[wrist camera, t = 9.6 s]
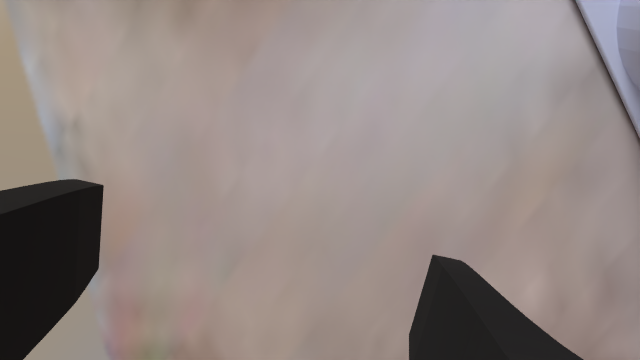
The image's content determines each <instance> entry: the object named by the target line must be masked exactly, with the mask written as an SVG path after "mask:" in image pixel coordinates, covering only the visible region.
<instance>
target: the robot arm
mask: <svg viewBox="0 0 640 360" xmlns="http://www.w3.org/2000/svg"><path fill="white" fill-rule="evenodd" d="M575 1H576V3H577V5H578V7H579V9H580V11H581V14H582V16H583V18H584V20H585V22H586V24H587V26H588V29H589V31H590V33H591V35H592V37H593V39H594V41H595V44H596V46H597V48H598V50H599V52H600V54H601V56H602V58H603V61H604V63H605V65H606V67H607V69H608V71H609V73H610V76H611V78H612V80H613V82H614V84H615V86H616V88H617V91H618V93H619V95H620V97H621V99H622V101H623V103H624V106H625V108H626V110H627V112H628V114H629V116H630V118H631V121H632V123H633V125H634V127H635V129H636V131H637V133H638V136H639V138H640V0H575ZM102 202H103V185H101V184H96V183H91V182H86V181H82V180H77V179H70V180H58V181H51V182H45V183H40V184H34V185H28V186H23V187H18V188H13V189H8V190H2V191H0V360H23V359H24V358H25V357H26V356H27V355H28V354H29V353H30V352H31V350H32V349H33V348H34V347H35V346H36V345H37V344H38V343H39V342H40V341H41V340H42V339H43V338H44V337H45V336H46V334H47V333H48V332H49V331H50V330H51V329H52V328H53V327H54V326H55V325H56V323H58V321H59V320H60V319H61V318H62V317H63V316H64V315H65V314H66V313H67V311H68V310H69V309H70V308H71V307H72V306H73V305H74V304H75V302H76V301H77V300H78V298H79V297H80V295H81V294H82V293H83V291H84V290H85V288H86V287H87V285H88V284H89V282H90V281H91V279H92V278H93V276H94V275H95V273H96V272H97V270H98V268H99V252H100V236H101V219H102ZM409 360H583V359H582V358H580V357H579V356H577V355H576V354H574V353H573V352H571V351H570V350H568V349H567V348H566V347H564V346H563V345H562V344H560V343H559V342H557V341H556V340H555V339H553V338H552V337H551V336H550V335H548V334H547V333H546V332H545V331H543V330H542V329H541V328H540V327H538V326H537V325H536V324H535V323H533V322H532V321H531V320H530V319H528V318H527V317H526V316H525V315H524V314H522V313H521V312H520V311H519V310H518V309H517V308H516V307H514V306H513V305H512V304H511V303H510V302H509V301H508V300H506V299H505V298H504V297H503V296H502V295H501V294H500V293H499V292H498V291H496V290H495V289H494V288H493V287H492V286H491V285H490V284H489V283H488V282H487V281H485V280H484V279H483V278H482V277H481V276H480V275H479V274H478V273H477V272H475V271H474V270H473V269H472V268H471V267H469V266H468V265H467V264H466V263H464V262H462V261H461V260H456V259H451V258H447V257H442V256H437V255H432V259H431V262H430V265H429V269H428V272H427V276H426V279H425V282H424V286H423V289H422V293H421V296H420V299H419V303H418V306H417V310H416V313H415V316H414V320H413V323H412V326H411V330H410V333H409Z"/></svg>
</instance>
